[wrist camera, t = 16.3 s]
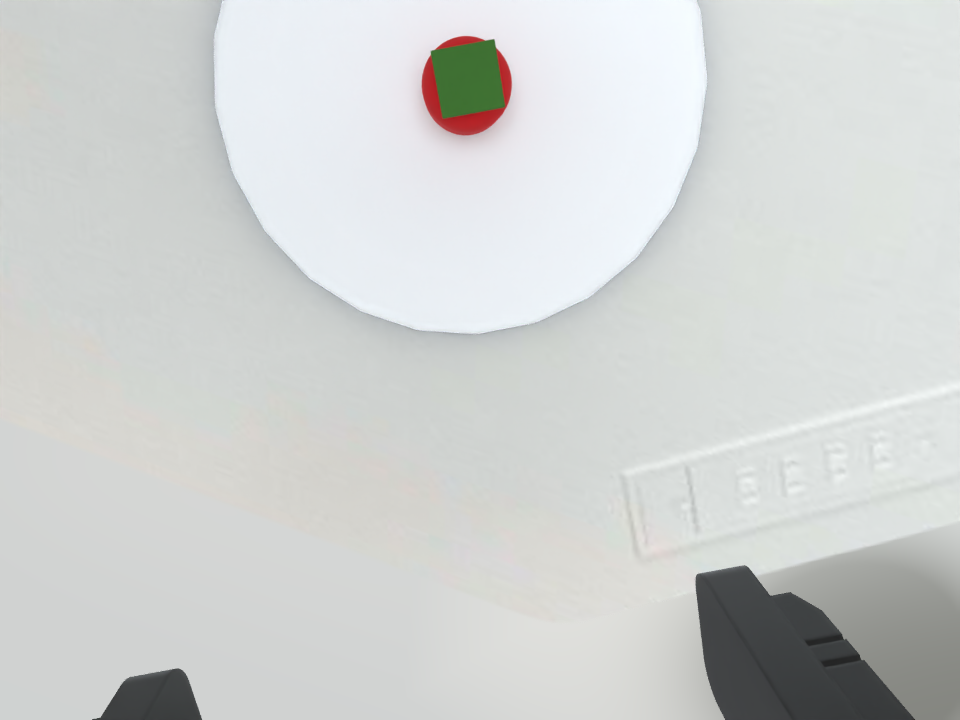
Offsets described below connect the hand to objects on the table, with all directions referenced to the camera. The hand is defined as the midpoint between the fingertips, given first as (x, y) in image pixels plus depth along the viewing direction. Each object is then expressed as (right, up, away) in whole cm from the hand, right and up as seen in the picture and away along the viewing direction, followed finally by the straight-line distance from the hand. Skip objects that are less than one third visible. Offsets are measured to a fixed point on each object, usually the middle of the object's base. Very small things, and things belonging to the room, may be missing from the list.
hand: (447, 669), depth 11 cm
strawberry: (0, +18, +25) cm, 31 cm away
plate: (0, +19, +27) cm, 32 cm away
